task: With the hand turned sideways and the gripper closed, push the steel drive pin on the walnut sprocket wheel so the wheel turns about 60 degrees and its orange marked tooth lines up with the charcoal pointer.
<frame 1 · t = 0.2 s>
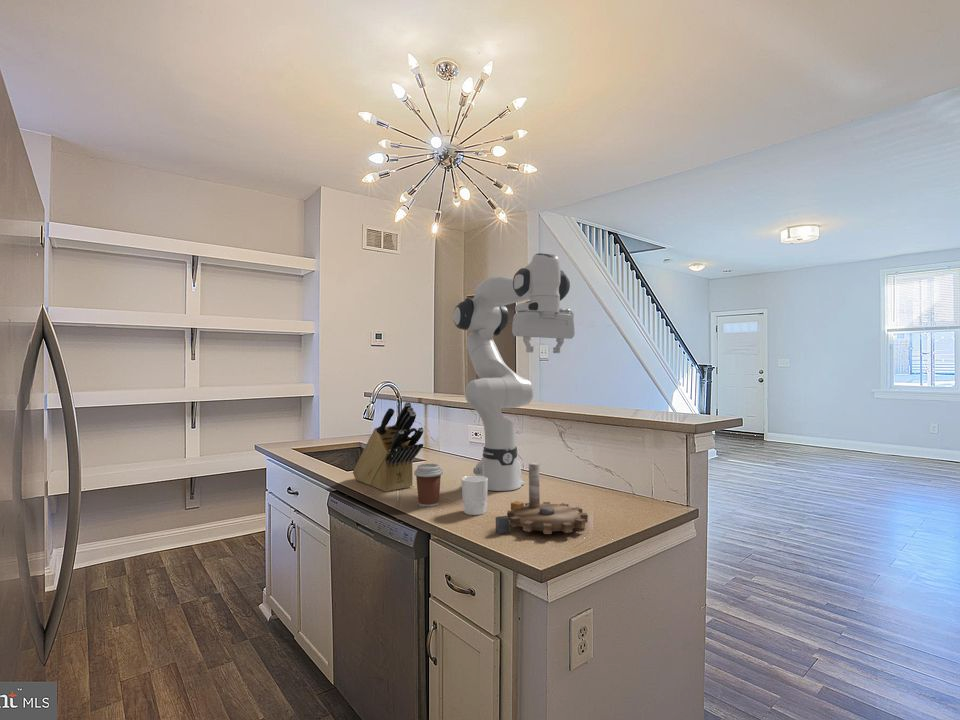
hand: (543, 352, 153), 47 cm above the table, tool pointing down, fingers open, 8 cm apart
white cup: (474, 512, 152), on the table
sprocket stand: (547, 525, 138), on the table
sprocket: (546, 494, 138), point 8 cm above the table, hinge at 0.0°
knife block: (387, 486, 184), on the table
coffee cup: (428, 504, 161), on the table
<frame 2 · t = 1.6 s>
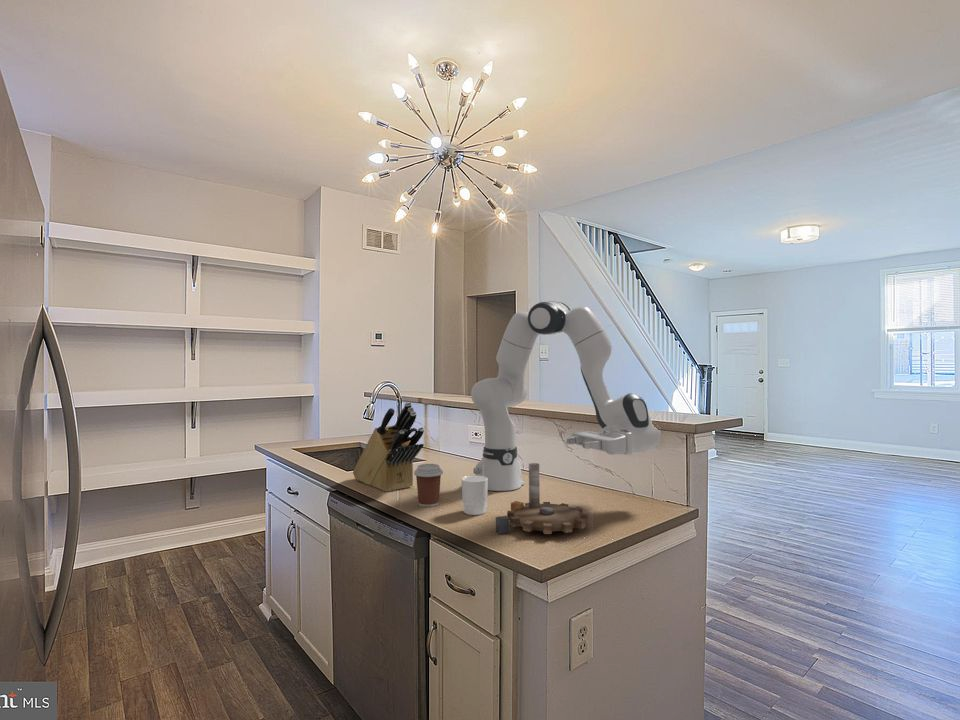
hand: (575, 443, 150), 20 cm above the table, tool horizontal, fingers open, 7 cm apart
nothing on the table moved.
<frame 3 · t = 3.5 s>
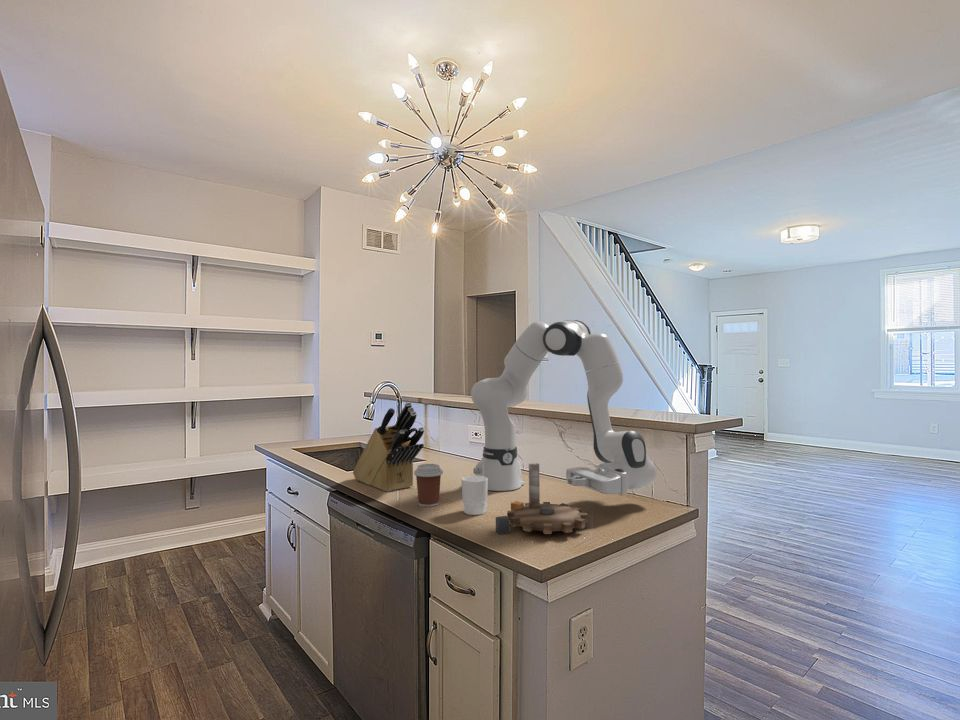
hand: (570, 482, 150), 9 cm above the table, tool horizontal, fingers closed
nothing on the table moved.
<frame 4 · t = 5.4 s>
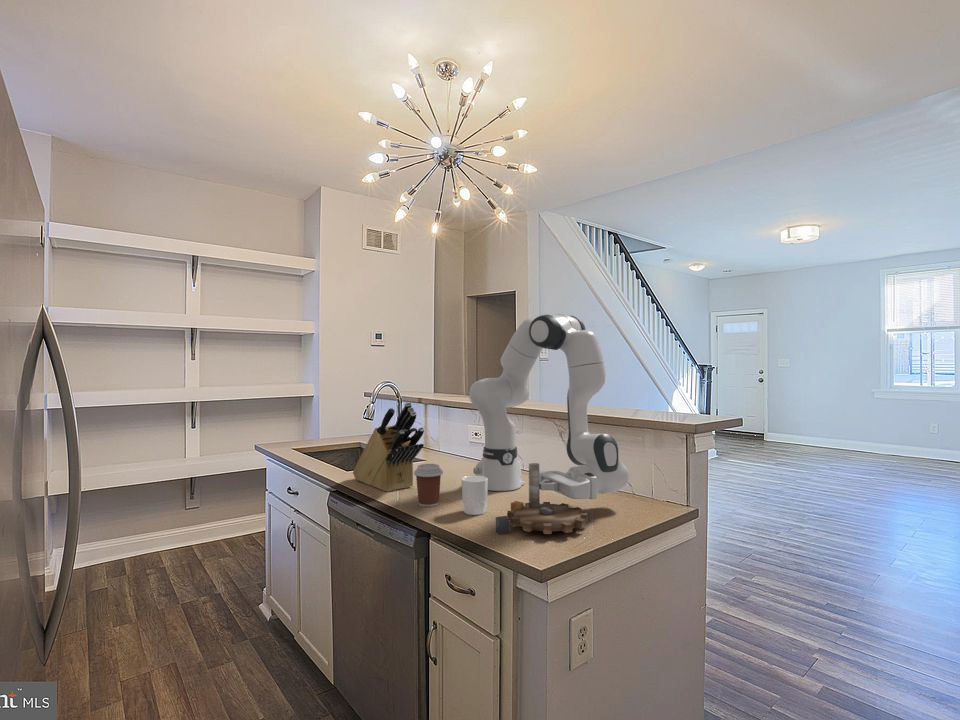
hand: (538, 486, 146), 9 cm above the table, tool horizontal, fingers closed, pressing on sprocket
sprocket: (546, 494, 138), point 8 cm above the table, hinge at 0.0°, touching gripper
everything else where it was.
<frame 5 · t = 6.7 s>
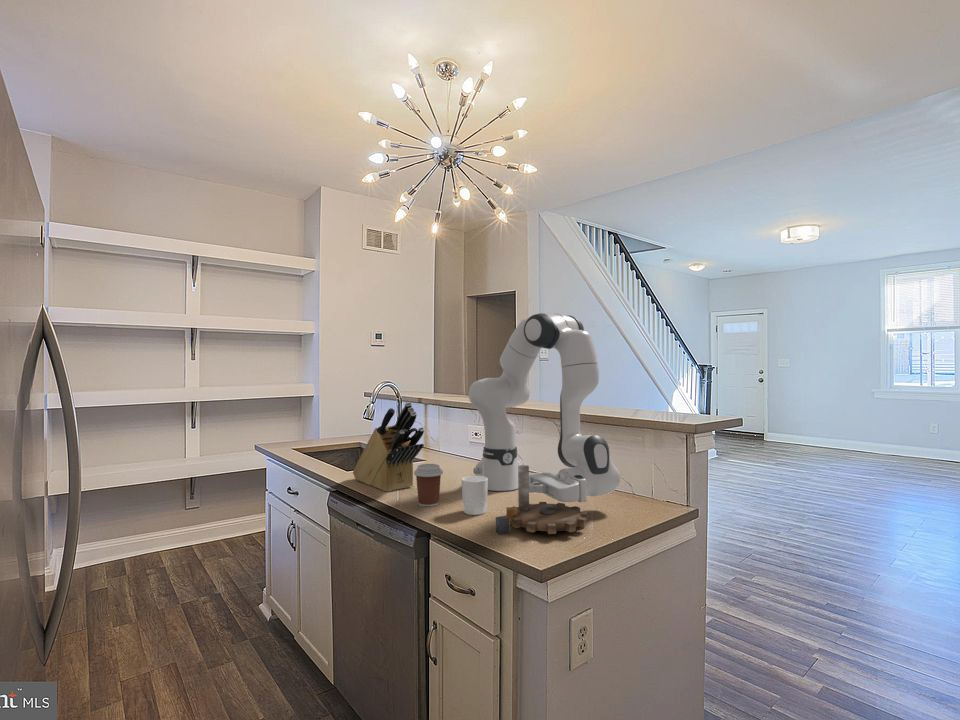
hand: (527, 488, 143), 9 cm above the table, tool horizontal, fingers closed, pressing on sprocket
sprocket: (546, 494, 138), point 8 cm above the table, hinge at 36.1°, touching gripper
everything else where it was.
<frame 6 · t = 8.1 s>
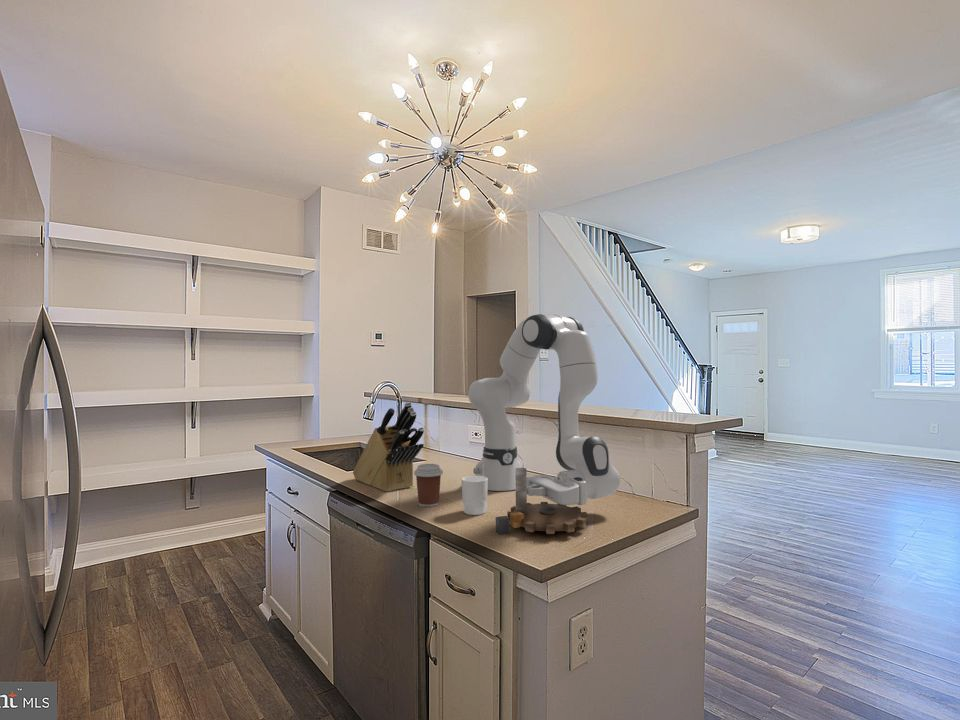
hand: (525, 491, 140), 9 cm above the table, tool horizontal, fingers closed
sprocket: (546, 494, 138), point 8 cm above the table, hinge at 63.9°
everything else where it was.
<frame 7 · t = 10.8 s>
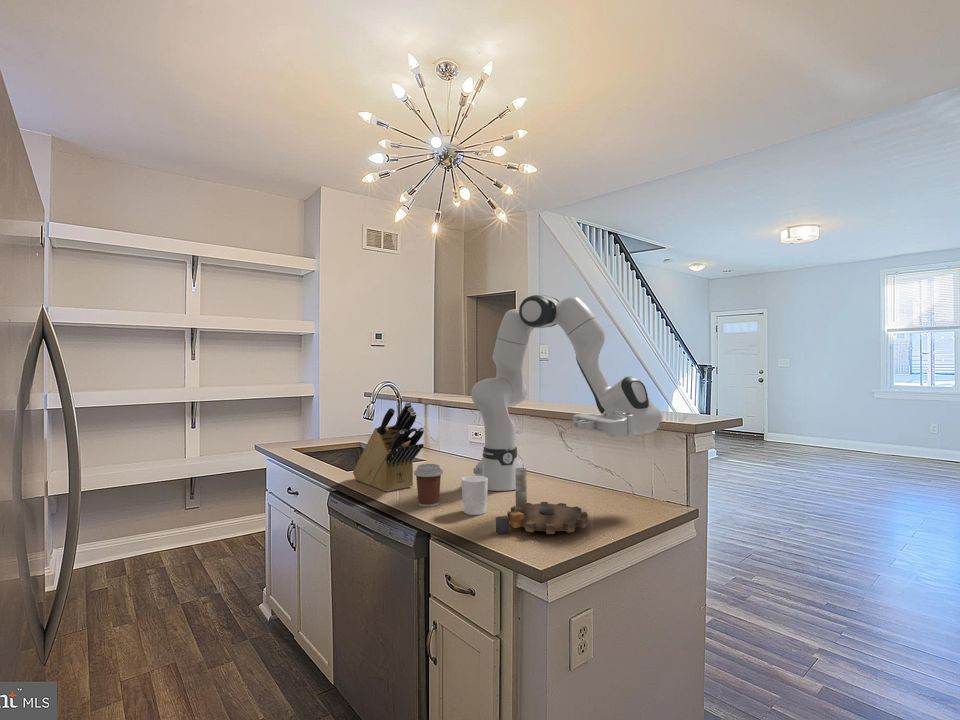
hand: (576, 425, 150), 26 cm above the table, tool horizontal, fingers closed
nothing on the table moved.
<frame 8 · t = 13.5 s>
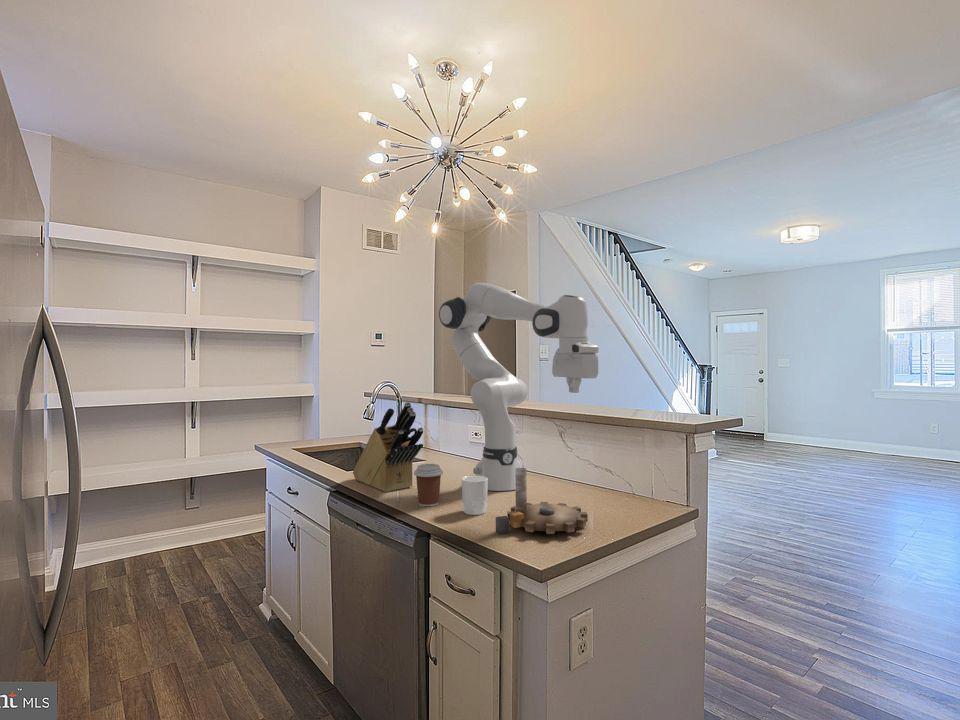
hand: (573, 392, 156), 35 cm above the table, tool pointing down, fingers closed
nothing on the table moved.
at the end: sprocket at +64° (first picture: +0°); white cup moved 0.2 cm from its start; coffee cup moved 0.2 cm from its start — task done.
